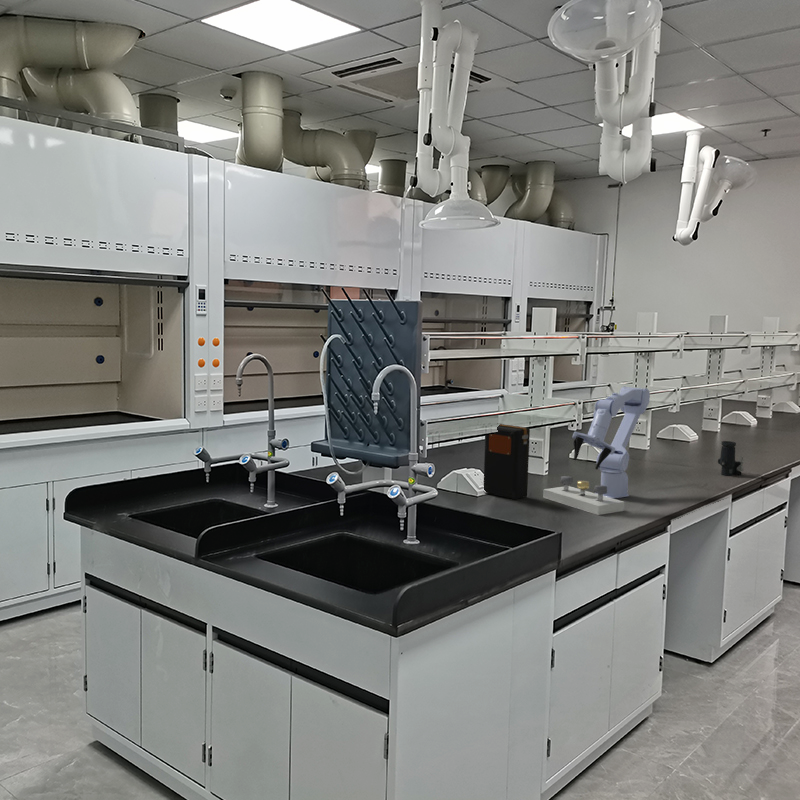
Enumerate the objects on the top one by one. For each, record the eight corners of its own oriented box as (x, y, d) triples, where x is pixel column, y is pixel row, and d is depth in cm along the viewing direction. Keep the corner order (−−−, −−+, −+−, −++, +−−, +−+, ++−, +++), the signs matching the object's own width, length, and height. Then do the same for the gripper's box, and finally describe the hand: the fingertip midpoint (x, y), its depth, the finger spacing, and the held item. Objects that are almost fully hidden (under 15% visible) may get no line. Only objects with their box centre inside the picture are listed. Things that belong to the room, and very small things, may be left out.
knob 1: (566, 489, 261) (566, 475, 260) (574, 491, 257) (574, 477, 257) (557, 490, 259) (558, 476, 258) (565, 492, 255) (566, 479, 255)
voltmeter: (529, 497, 260) (532, 427, 257) (515, 501, 253) (518, 429, 251) (494, 489, 270) (496, 422, 268) (479, 493, 264) (482, 424, 262)
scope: (746, 442, 305) (733, 444, 299) (743, 475, 306) (731, 477, 300) (727, 439, 311) (714, 441, 305) (724, 471, 313) (712, 474, 306)
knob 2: (599, 499, 247) (600, 484, 247) (608, 501, 244) (609, 487, 243) (591, 500, 245) (592, 486, 245) (600, 503, 242) (601, 488, 241)
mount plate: (568, 494, 266) (568, 485, 265) (623, 510, 244) (624, 501, 243) (543, 497, 260) (543, 489, 259) (598, 515, 237) (598, 505, 237)
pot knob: (582, 494, 254) (583, 480, 253) (591, 496, 251) (591, 482, 250) (574, 495, 252) (574, 481, 251) (582, 497, 249) (583, 483, 248)
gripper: (581, 416, 249) (568, 450, 243) (622, 433, 247) (610, 468, 241) (576, 425, 255) (563, 458, 250) (615, 441, 253) (604, 475, 247)
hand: (586, 463), depth 246 cm, fingers open, 7 cm apart
